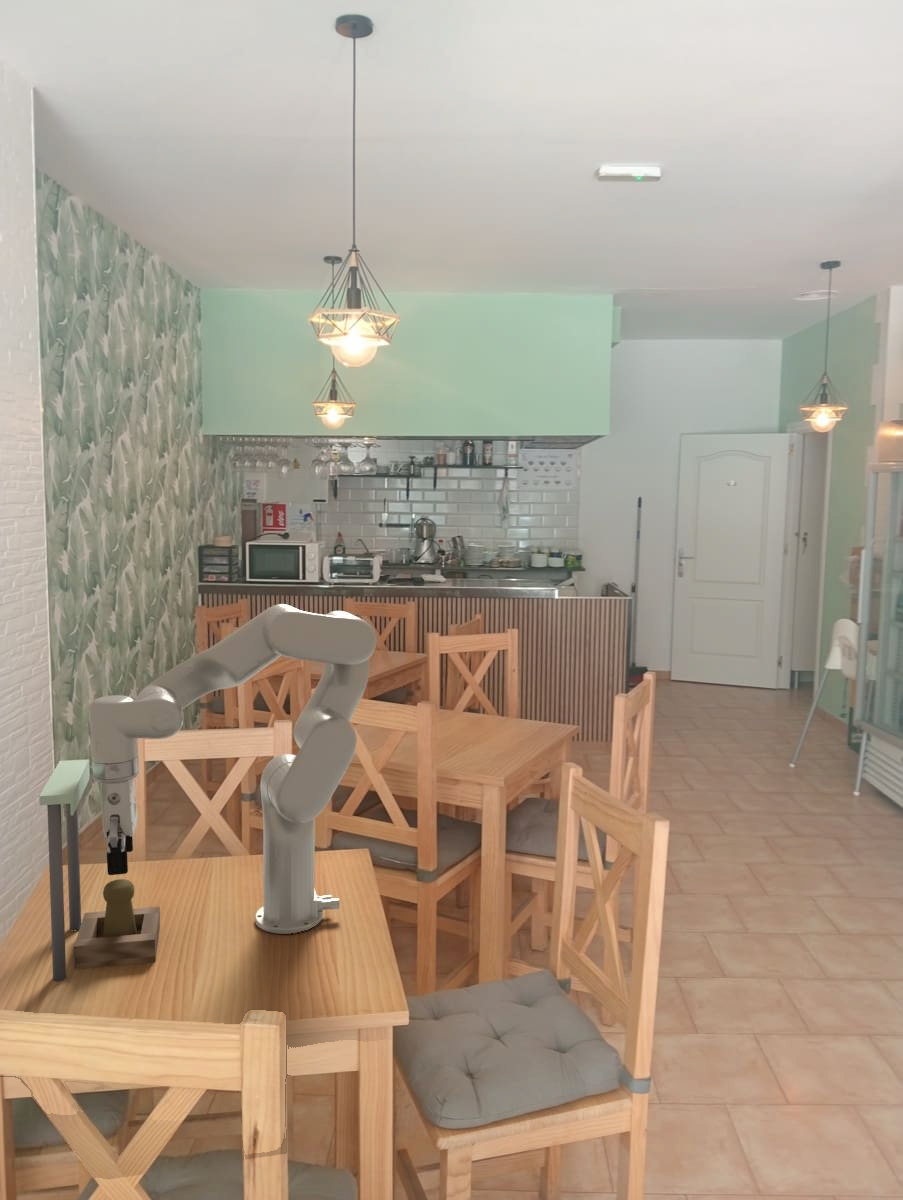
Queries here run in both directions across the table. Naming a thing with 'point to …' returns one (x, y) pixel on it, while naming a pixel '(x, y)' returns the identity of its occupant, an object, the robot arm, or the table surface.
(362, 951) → the table surface
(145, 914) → the socket block
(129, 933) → the olive pawn
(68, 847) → the stand
